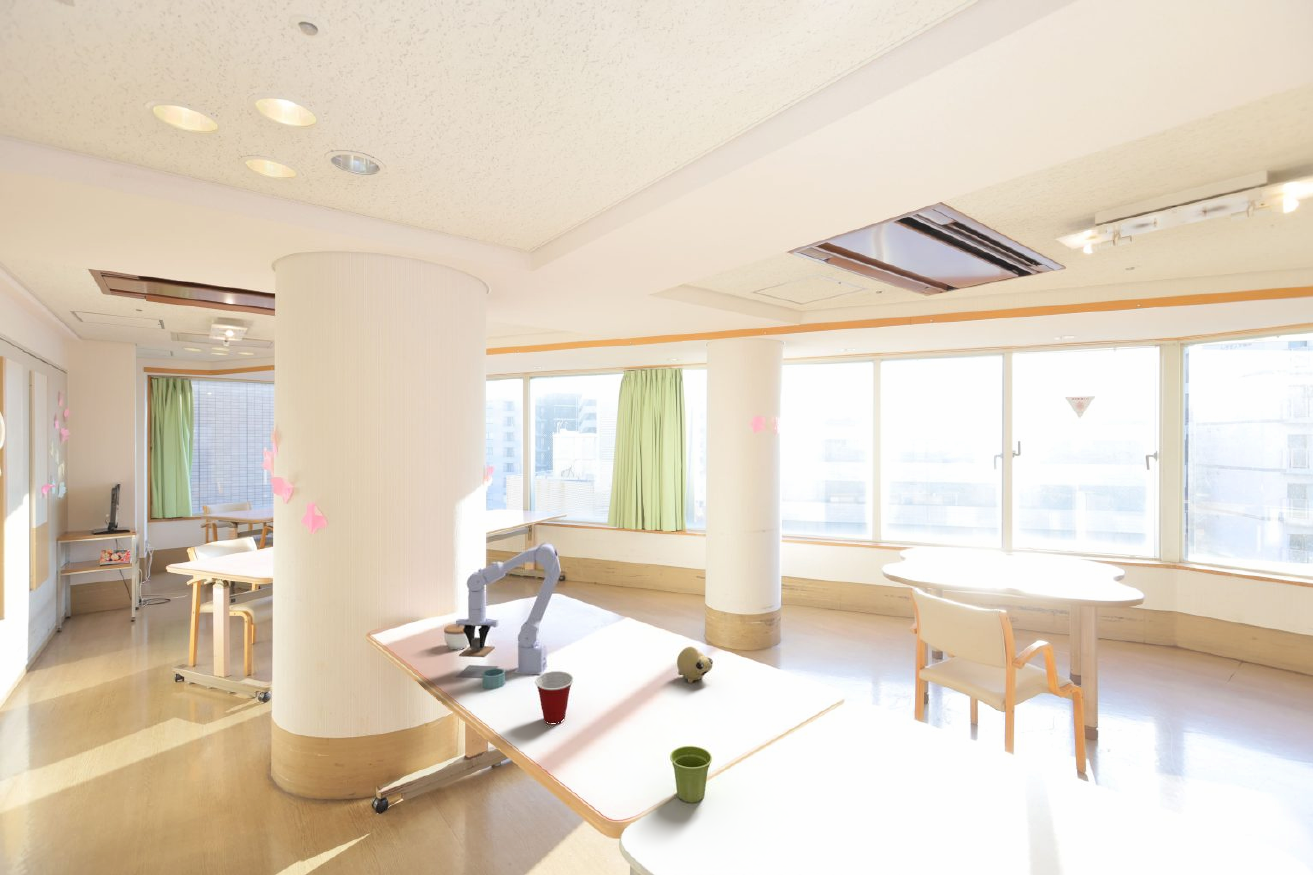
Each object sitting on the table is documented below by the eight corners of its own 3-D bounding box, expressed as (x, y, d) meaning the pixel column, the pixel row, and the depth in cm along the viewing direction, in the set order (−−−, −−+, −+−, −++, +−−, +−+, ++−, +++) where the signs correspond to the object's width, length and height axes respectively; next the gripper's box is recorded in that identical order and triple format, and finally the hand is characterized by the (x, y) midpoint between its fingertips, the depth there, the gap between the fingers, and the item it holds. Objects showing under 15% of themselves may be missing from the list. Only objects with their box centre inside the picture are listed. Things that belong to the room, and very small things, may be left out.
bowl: (508, 681, 200) (508, 668, 200) (500, 690, 193) (500, 676, 193) (487, 680, 200) (487, 667, 200) (479, 689, 193) (479, 676, 193)
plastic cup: (536, 731, 165) (536, 687, 165) (533, 714, 175) (533, 673, 175) (576, 726, 168) (576, 683, 168) (571, 709, 178) (571, 669, 178)
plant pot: (709, 782, 140) (709, 745, 140) (714, 807, 130) (714, 767, 130) (669, 783, 139) (669, 746, 139) (671, 808, 130) (671, 768, 130)
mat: (498, 667, 212) (498, 666, 212) (486, 679, 202) (486, 678, 202) (469, 665, 214) (469, 665, 214) (454, 677, 203) (454, 677, 203)
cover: (494, 648, 212) (494, 635, 212) (484, 657, 203) (484, 643, 203) (470, 647, 213) (470, 634, 213) (459, 656, 204) (458, 642, 204)
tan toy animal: (697, 689, 192) (697, 656, 192) (671, 679, 201) (671, 647, 201) (718, 681, 199) (717, 648, 199) (691, 671, 207) (691, 640, 207)
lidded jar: (477, 642, 238) (477, 619, 238) (466, 652, 228) (466, 627, 228) (451, 642, 239) (451, 618, 240) (439, 651, 229) (439, 626, 229)
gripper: (501, 604, 211) (501, 643, 211) (462, 603, 213) (462, 642, 213) (493, 610, 204) (494, 650, 204) (452, 609, 206) (453, 649, 206)
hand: (477, 646), depth 208 cm, fingers closed on cover, 3 cm apart
